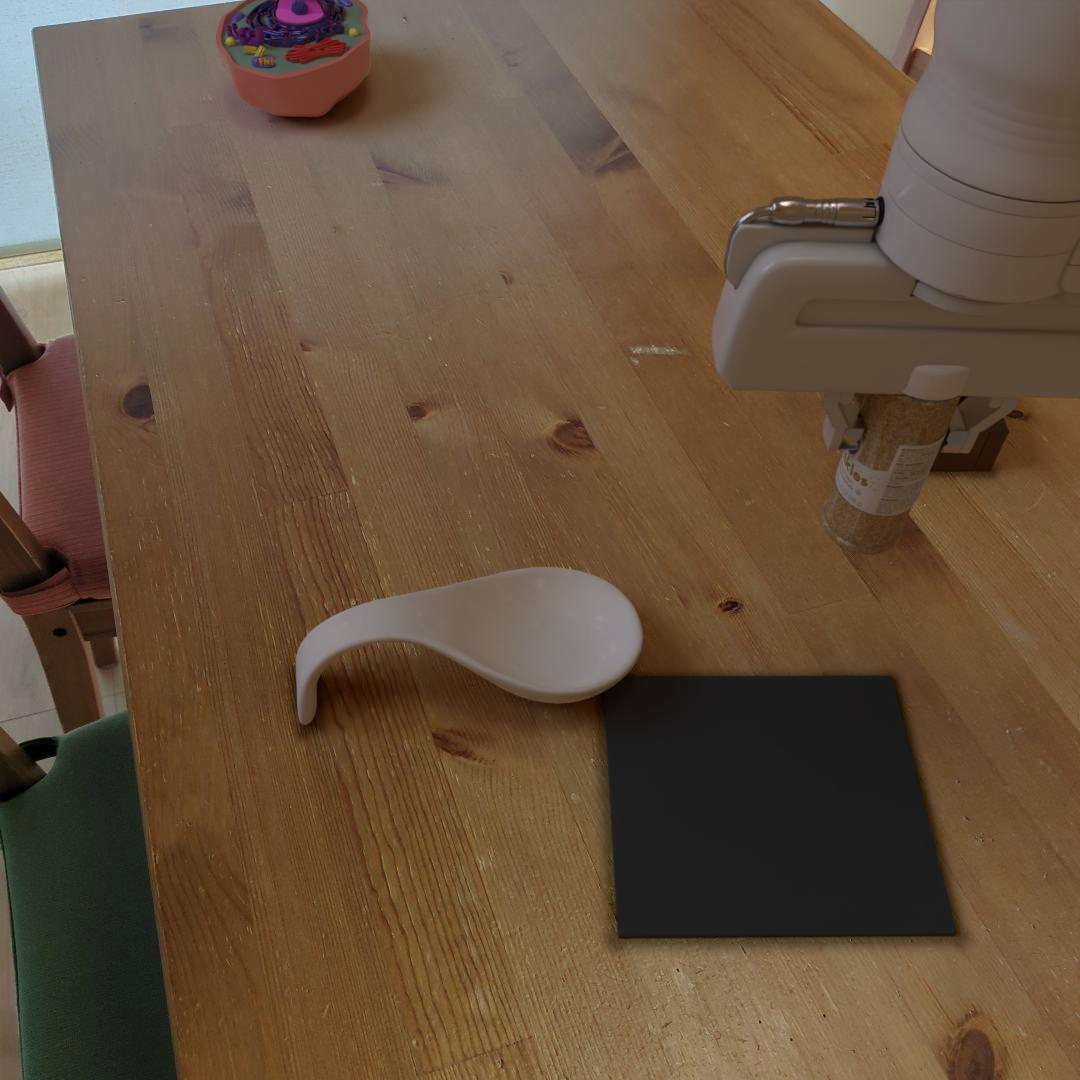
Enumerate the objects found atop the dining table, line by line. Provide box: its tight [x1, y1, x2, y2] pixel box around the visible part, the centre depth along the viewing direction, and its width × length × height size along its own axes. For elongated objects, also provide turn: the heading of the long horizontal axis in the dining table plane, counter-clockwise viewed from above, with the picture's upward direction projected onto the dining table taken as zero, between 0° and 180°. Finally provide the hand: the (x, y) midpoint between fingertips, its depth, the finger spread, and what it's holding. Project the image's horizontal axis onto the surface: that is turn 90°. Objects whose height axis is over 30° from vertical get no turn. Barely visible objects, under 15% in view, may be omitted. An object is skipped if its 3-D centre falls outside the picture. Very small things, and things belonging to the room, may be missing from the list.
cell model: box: [215, 0, 372, 118], centre depth 122 cm, size 17×20×11 cm
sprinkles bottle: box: [820, 365, 970, 556], centre depth 56 cm, size 5×5×14 cm
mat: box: [603, 675, 958, 939], centre depth 71 cm, size 20×18×1 cm
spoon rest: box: [295, 566, 644, 726], centre depth 74 cm, size 24×12×7 cm, turn 102°
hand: (894, 443), depth 56 cm, fingers closed on sprinkles bottle, 4 cm apart
